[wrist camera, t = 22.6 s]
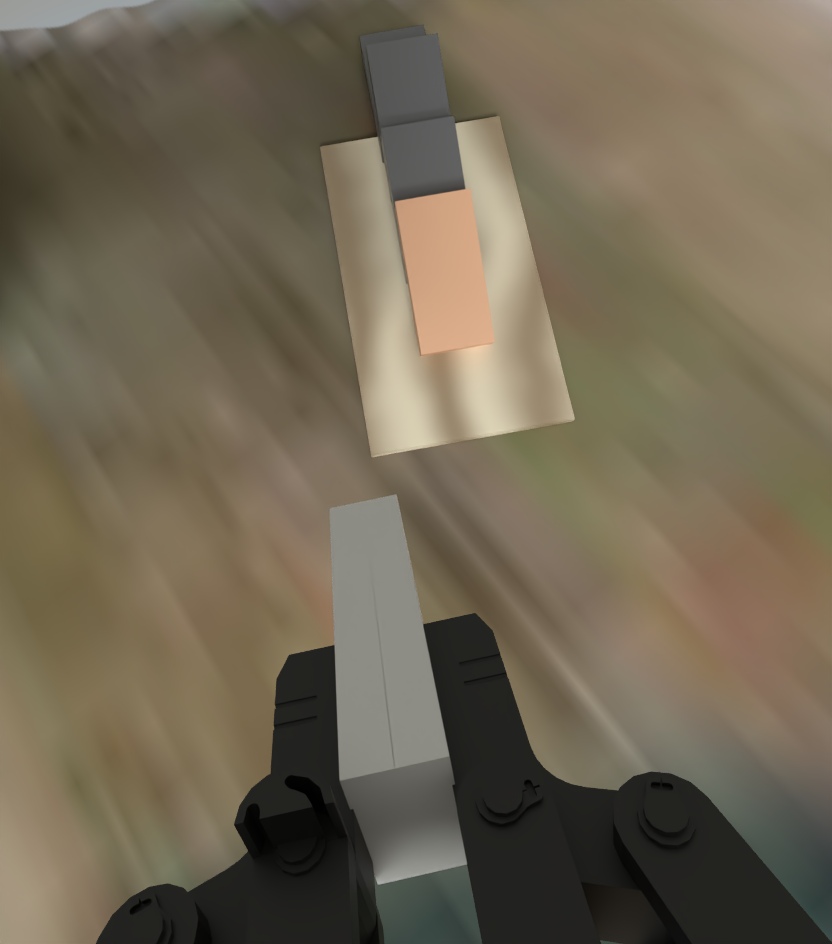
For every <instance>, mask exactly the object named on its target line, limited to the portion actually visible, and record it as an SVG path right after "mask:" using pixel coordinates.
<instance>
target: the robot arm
mask: <svg viewBox="0 0 832 944" xmlns="http://www.w3.org/2000/svg"><path fill="white" fill-rule="evenodd" d="M330 533H331V560H332V588H333V615H334V642H335V645H333V646H328V647H324V648H319V649H314V650H310V651H305V652H300V653H296V654H291V655H289V656H288V658H287V660H286V662H285V664H284V666H283V668H282V670H281V672H280V674H279V676H278V677H277V681H276V697H275V706H276V709H275V713H274V730H273V744H272V760H271V774H270V775H267V776H266V777H265V778H264V779H262V780H261V781H260V782H259V783H257V784H256V785H255V786H254V787H253V788H251V790H250V791H249V793H248V794H247V796H246V797H245V798H244V800H243V801H242V803H241V804H240V806H239V809H238V813H237V816H236V820H235V823H234V826H235V827H236V829H237V831H238V833H239V835H240V837H241V838H242V840H243V842H244V844H245V846H246V848H247V849H248V852H247V853H246V854H245V855H244V856H243V857H242V858H241V859H240V860H239V861H238V862H236V863H235V864H234V865H232V866H231V867H229V868H228V869H227V870H225V871H223V872H222V873H220V874H218V875H216V876H215V877H213V878H211V879H210V880H208V881H206V882H204V883H203V884H201V885H199V886H197V887H196V888H194V889H192V890H191V891H189V892H187V891H186V890H185V889H184V888H182V887H178V886H175V885H171V884H163V885H157V886H152V887H148V888H146V889H145V890H143V891H141V892H139V893H138V894H136V895H134V896H132V897H131V898H129V899H128V900H127V901H126V902H125V903H124V904H123V905H122V906H121V907H120V908H119V909H118V910H117V911H116V912H115V913H114V914H113V915H112V916H111V918H110V920H109V921H108V923H107V925H106V926H105V928H104V930H103V931H102V933H101V935H100V936H99V938H98V940H97V943H96V944H384V935H383V926H382V923H381V919H380V915H379V912H378V909H377V906H376V897H375V884H374V875H375V878H376V881H377V883H378V885H379V884H383V883H388V882H392V881H396V880H401V879H405V878H410V877H414V876H418V875H423V874H427V873H431V872H436V871H440V870H445V869H449V868H453V867H458V866H462V865H466V864H467V866H468V871H469V876H470V882H471V887H472V892H473V897H474V902H475V907H476V912H477V918H478V923H479V928H480V933H481V938H482V943H483V944H601V942H600V940H603V941H610V942H616V943H622V944H832V942H831V941H830V940H829V939H828V938H827V937H826V935H825V934H824V933H823V932H822V931H821V930H820V928H819V927H818V926H817V925H816V924H815V923H814V921H813V920H812V919H811V918H810V917H809V915H808V914H807V913H806V912H805V911H804V910H803V908H802V907H801V906H800V905H799V904H798V903H797V901H796V900H795V899H794V898H793V897H792V896H791V894H790V893H789V892H788V891H787V890H786V888H785V887H784V886H783V885H782V884H781V883H780V881H779V880H778V879H777V878H776V877H775V876H774V874H773V873H772V872H771V871H770V870H769V869H768V867H767V866H766V865H765V864H764V863H763V861H762V860H761V859H760V858H759V857H758V856H757V854H756V853H755V852H754V851H753V850H752V849H751V847H750V846H749V845H748V844H747V843H746V842H745V840H744V839H743V838H742V837H741V836H740V834H739V833H738V832H737V831H736V830H735V829H734V827H733V826H732V825H731V824H730V823H729V822H728V820H727V819H726V818H725V817H724V816H723V814H722V813H721V812H720V811H719V810H718V809H717V807H716V806H715V805H714V804H713V803H712V802H711V800H710V799H709V798H708V797H707V796H706V795H705V794H704V793H703V792H701V791H700V790H699V789H698V788H697V787H696V786H694V785H693V784H692V783H691V782H689V781H687V780H684V779H682V778H680V777H678V776H675V775H673V774H670V773H660V772H648V773H644V774H640V775H637V776H633V777H632V778H631V779H630V780H628V781H627V782H626V783H625V784H623V785H622V786H621V787H620V788H619V791H617V790H607V789H598V788H588V787H582V786H577V785H573V784H569V783H567V782H565V781H563V780H560V779H558V778H556V777H555V776H554V775H552V774H551V773H550V772H548V771H547V770H546V769H545V768H544V767H543V766H542V765H541V764H540V762H539V761H538V760H537V759H536V757H535V755H534V753H533V751H532V749H531V746H530V743H529V740H528V737H527V734H526V731H525V728H524V725H523V722H522V719H521V716H520V713H519V710H518V707H517V704H516V701H515V698H514V694H513V691H512V688H511V685H510V682H509V679H508V677H507V674H506V670H505V667H504V664H503V661H502V658H501V656H500V652H499V649H498V646H497V643H496V639H495V636H494V633H493V631H492V630H491V629H490V628H489V627H488V625H487V624H486V623H485V622H484V621H483V620H482V619H481V618H480V617H479V616H478V615H477V614H476V613H473V614H469V615H464V616H459V617H455V618H450V619H446V620H441V621H436V622H432V623H427V624H423V619H422V614H421V609H420V604H419V599H418V594H417V589H416V584H415V580H414V575H413V570H412V566H411V561H410V556H409V551H408V547H407V542H406V537H405V532H404V528H403V523H402V518H401V513H400V509H399V504H398V499H397V494H396V495H391V496H387V497H382V498H377V499H372V500H367V501H363V502H358V503H353V504H348V505H343V506H339V507H334V508H330Z"/></svg>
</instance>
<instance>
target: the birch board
mask: <svg viewBox="0 0 832 944" xmlns="http://www.w3.org/2000/svg"><path fill="white" fill-rule="evenodd" d="M455 125H456V132H457V138H458V144H459V151H460V157H461V163H462V170H463V176H464V182H465V189H469V188H471V194H472V201H473V207H474V213H475V220H476V226H477V232H478V239H479V245H480V251H481V257H482V264H483V270H484V276H485V283H486V289H487V295H488V302H489V308H490V314H491V321H492V327H493V333H494V339H495V342H494V343H492V344H489V345H483V346H477V347H472V348H466V349H460V350H455V351H449V352H443V353H438V354H432V355H426V356H421V357H420V352H419V346H418V341H417V335H416V329H415V323H414V317H413V312H412V306H411V300H410V294H409V288H408V284H406V281H405V275H404V269H403V263H402V257H401V252H400V246H399V240H398V234H397V229H396V223H395V217H394V211H393V205H392V203H391V198H390V192H389V186H388V181H387V175H386V169H385V163H383V162H382V157H381V152H380V147H379V142H378V137H374V138H368V139H362V140H356V141H350V142H344V143H339V144H333V145H327V146H321V147H320V150H321V156H322V162H323V168H324V174H325V180H326V186H327V192H328V198H329V204H330V210H331V216H332V222H333V228H334V234H335V240H336V246H337V253H338V259H339V265H340V271H341V277H342V283H343V289H344V295H345V301H346V307H347V313H348V319H349V325H350V331H351V337H352V343H353V349H354V355H355V361H356V367H357V373H358V379H359V385H360V391H361V397H362V403H363V409H364V415H365V421H366V427H367V433H368V439H369V445H370V451H371V456H372V457H376V456H382V455H387V454H393V453H399V452H404V451H410V450H415V449H421V448H427V447H432V446H438V445H443V444H449V443H455V442H460V441H466V440H471V439H477V438H483V437H488V436H494V435H499V434H505V433H511V432H516V431H522V430H527V429H533V428H539V427H544V426H550V425H555V424H561V423H567V422H572V421H573V420H574V419H575V418H574V414H573V410H572V406H571V402H570V398H569V394H568V390H567V386H566V382H565V378H564V374H563V370H562V366H561V362H560V358H559V354H558V350H557V346H556V342H555V338H554V334H553V330H552V326H551V322H550V318H549V314H548V310H547V306H546V302H545V298H544V294H543V290H542V286H541V282H540V278H539V274H538V270H537V266H536V262H535V258H534V254H533V250H532V246H531V242H530V239H529V235H528V231H527V227H526V223H525V219H524V215H523V211H522V207H521V203H520V199H519V195H518V191H517V187H516V183H515V179H514V175H513V171H512V167H511V163H510V159H509V155H508V151H507V147H506V143H505V139H504V135H503V131H502V127H501V123H500V119H499V116H496V117H490V118H484V119H478V120H473V121H467V122H461V123H455Z"/></svg>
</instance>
